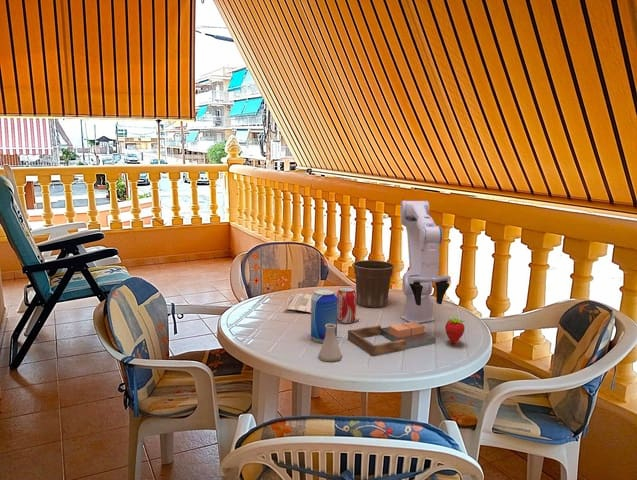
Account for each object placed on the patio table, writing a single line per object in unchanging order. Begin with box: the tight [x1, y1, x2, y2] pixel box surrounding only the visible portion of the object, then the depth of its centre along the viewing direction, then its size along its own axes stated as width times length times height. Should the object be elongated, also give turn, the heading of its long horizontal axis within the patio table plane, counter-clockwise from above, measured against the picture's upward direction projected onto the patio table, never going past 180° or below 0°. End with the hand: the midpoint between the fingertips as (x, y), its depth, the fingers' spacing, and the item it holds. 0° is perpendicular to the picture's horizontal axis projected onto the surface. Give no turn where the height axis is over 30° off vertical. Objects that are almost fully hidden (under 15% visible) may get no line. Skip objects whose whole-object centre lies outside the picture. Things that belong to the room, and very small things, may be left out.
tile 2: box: [402, 321, 426, 335], centre depth 168 cm, size 5×5×2 cm
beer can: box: [310, 288, 338, 344], centre depth 165 cm, size 8×8×16 cm
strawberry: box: [445, 314, 465, 345], centre depth 163 cm, size 6×8×10 cm
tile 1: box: [388, 323, 411, 338], centre depth 166 cm, size 5×5×2 cm
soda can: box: [336, 286, 357, 324], centre depth 182 cm, size 7×7×12 cm
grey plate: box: [380, 326, 437, 350], centre depth 167 cm, size 12×14×2 cm
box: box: [347, 324, 407, 357], centre depth 162 cm, size 12×15×3 cm
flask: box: [317, 324, 343, 363], centre depth 151 cm, size 7×7×10 cm
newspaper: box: [284, 292, 313, 314], centre depth 201 cm, size 23×12×2 cm, turn 173°
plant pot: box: [352, 259, 395, 309], centre depth 203 cm, size 16×16×16 cm
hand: (428, 304), depth 168 cm, fingers open, 7 cm apart
